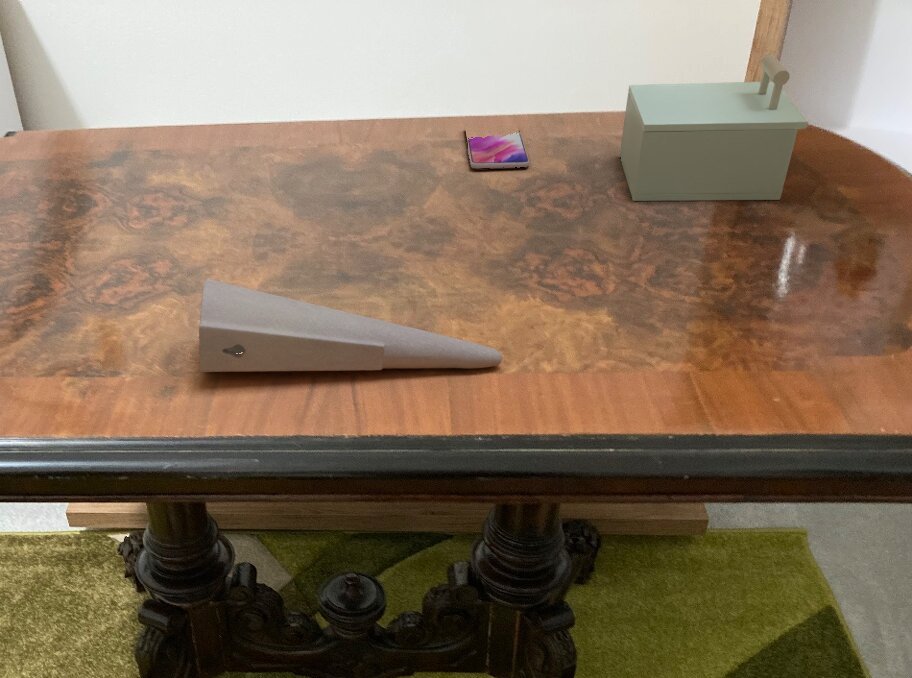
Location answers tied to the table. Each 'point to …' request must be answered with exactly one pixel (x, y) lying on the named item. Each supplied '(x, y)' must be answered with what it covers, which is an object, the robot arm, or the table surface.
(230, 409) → the table surface
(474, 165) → the smartphone
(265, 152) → the table surface
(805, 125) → the shoebox lid
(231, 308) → the grey tapered spike
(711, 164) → the shoebox
